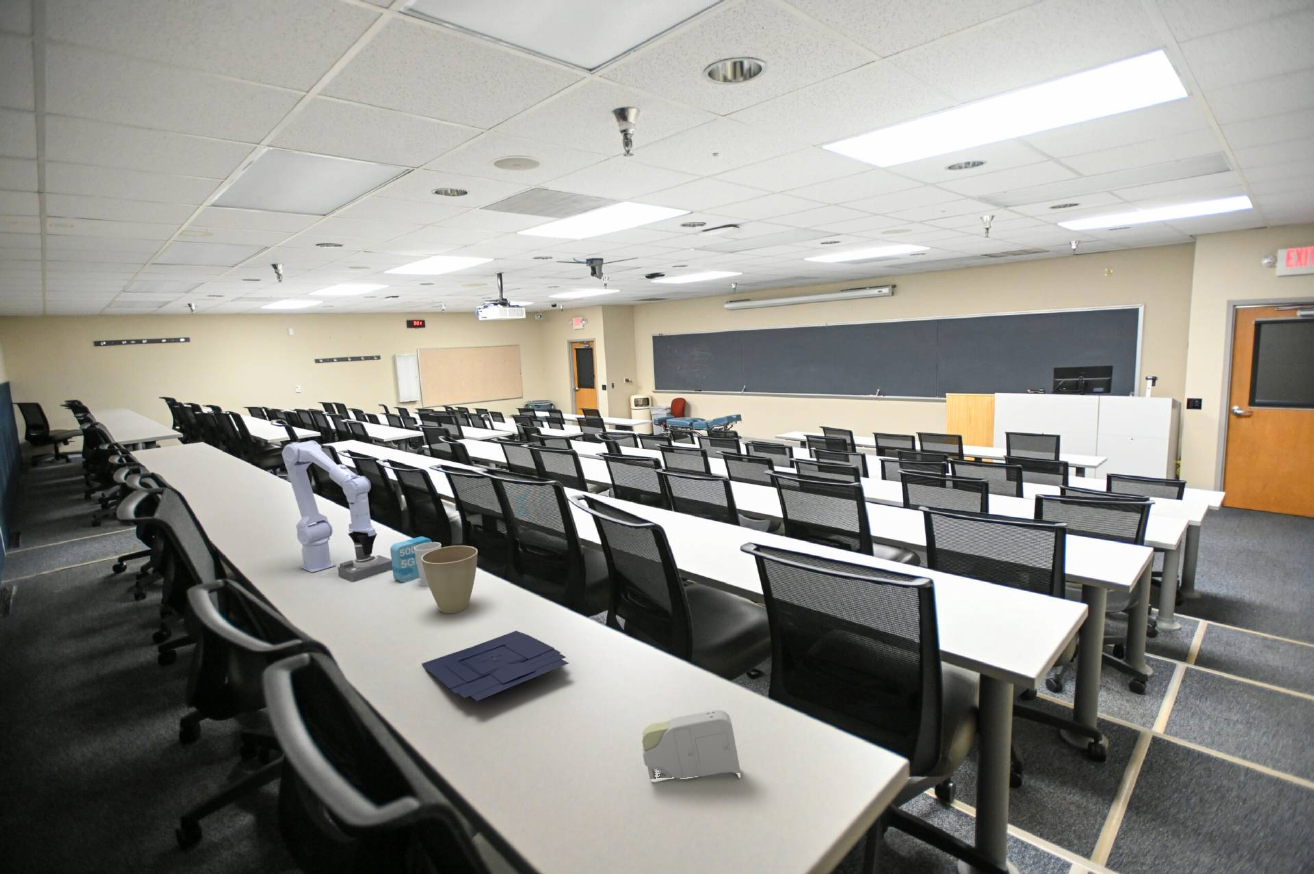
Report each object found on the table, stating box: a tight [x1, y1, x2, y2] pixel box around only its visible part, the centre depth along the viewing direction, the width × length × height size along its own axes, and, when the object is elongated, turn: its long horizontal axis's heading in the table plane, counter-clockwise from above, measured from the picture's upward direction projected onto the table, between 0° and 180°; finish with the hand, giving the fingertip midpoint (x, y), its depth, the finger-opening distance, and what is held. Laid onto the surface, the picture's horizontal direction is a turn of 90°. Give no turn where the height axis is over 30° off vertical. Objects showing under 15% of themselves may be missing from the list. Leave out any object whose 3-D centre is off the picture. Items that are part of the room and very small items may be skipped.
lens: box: [353, 541, 372, 562], centre depth 200 cm, size 4×4×6 cm
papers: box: [421, 630, 570, 702], centre depth 134 cm, size 24×30×4 cm
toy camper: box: [641, 709, 741, 780], centre depth 98 cm, size 11×3×15 cm
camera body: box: [337, 555, 393, 583], centre depth 201 cm, size 10×14×4 cm
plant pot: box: [421, 545, 478, 614], centre depth 168 cm, size 15×15×16 cm
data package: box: [389, 536, 433, 583], centre depth 195 cm, size 12×4×12 cm, turn 140°
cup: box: [414, 541, 442, 588], centre depth 189 cm, size 8×8×12 cm
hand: (364, 553), depth 201 cm, fingers closed on lens, 4 cm apart
